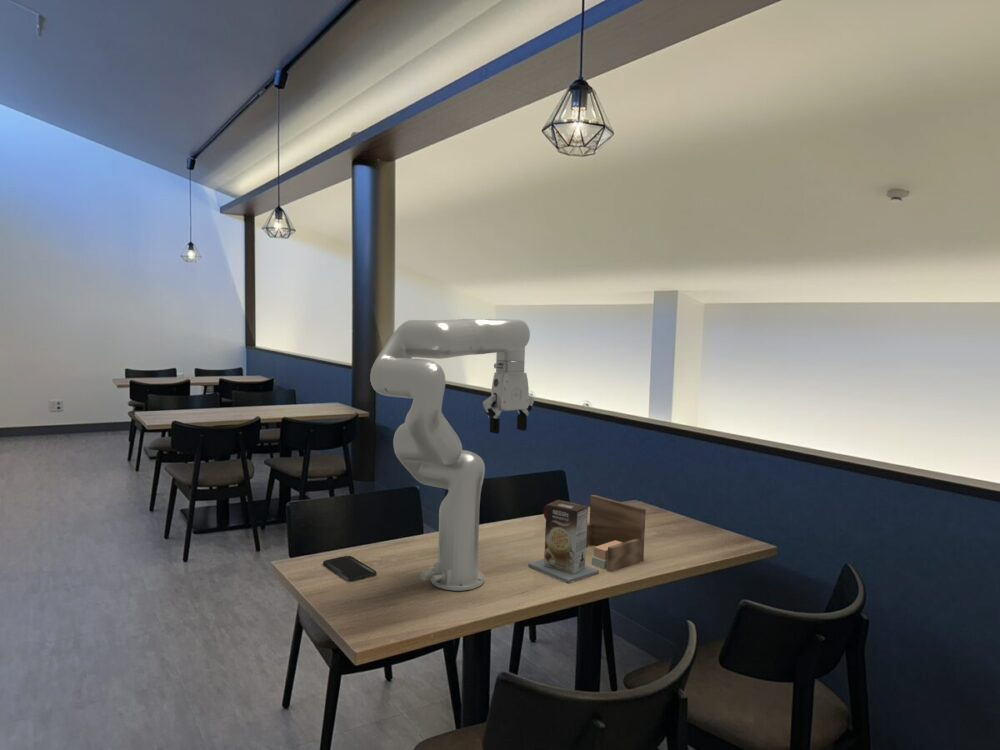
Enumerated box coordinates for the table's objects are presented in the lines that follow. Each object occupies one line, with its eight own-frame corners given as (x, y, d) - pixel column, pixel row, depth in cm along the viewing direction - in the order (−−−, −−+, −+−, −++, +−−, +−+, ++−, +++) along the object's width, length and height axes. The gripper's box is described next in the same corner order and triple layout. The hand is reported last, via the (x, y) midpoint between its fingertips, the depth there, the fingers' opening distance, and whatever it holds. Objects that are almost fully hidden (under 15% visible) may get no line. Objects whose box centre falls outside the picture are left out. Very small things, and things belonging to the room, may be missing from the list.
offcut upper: (604, 560, 169) (605, 550, 169) (593, 556, 172) (594, 547, 172) (626, 552, 176) (626, 543, 175) (615, 549, 178) (615, 540, 178)
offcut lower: (604, 570, 169) (604, 561, 169) (591, 566, 172) (592, 556, 172) (626, 561, 176) (627, 552, 176) (614, 557, 179) (615, 548, 179)
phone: (349, 555, 172) (378, 572, 160) (349, 559, 172) (378, 576, 160) (321, 561, 166) (348, 579, 155) (321, 565, 167) (348, 584, 155)
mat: (568, 583, 158) (568, 580, 158) (528, 566, 169) (528, 563, 169) (598, 573, 166) (598, 570, 166) (558, 557, 176) (558, 554, 176)
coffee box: (542, 566, 167) (544, 504, 166) (555, 559, 172) (557, 499, 171) (574, 574, 162) (576, 510, 161) (586, 567, 167) (589, 505, 166)
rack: (610, 571, 167) (612, 517, 166) (559, 552, 181) (561, 501, 180) (643, 560, 176) (645, 508, 175) (592, 542, 190) (594, 494, 189)
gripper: (494, 369, 166) (492, 436, 167) (543, 367, 177) (541, 430, 179) (475, 367, 172) (474, 432, 173) (524, 366, 183) (522, 427, 184)
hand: (508, 431), depth 176 cm, fingers open, 9 cm apart
